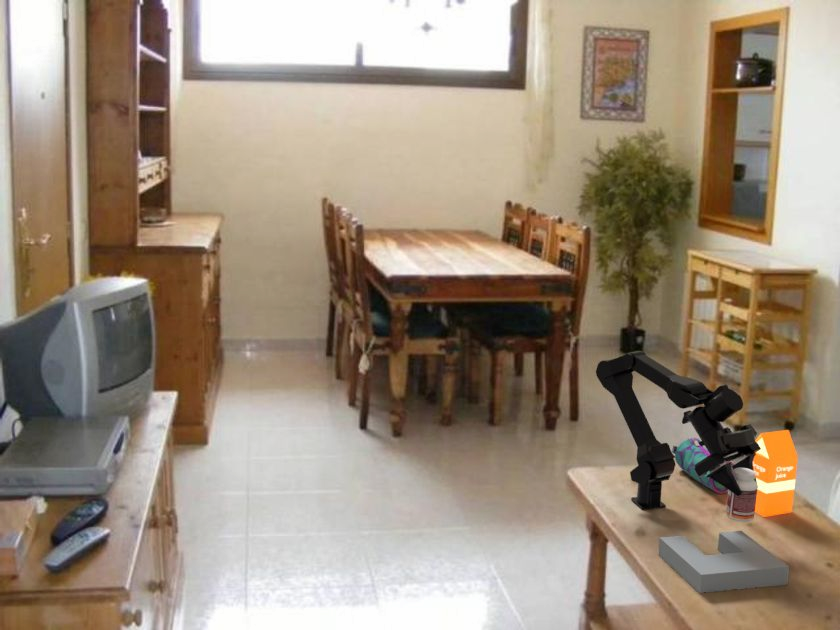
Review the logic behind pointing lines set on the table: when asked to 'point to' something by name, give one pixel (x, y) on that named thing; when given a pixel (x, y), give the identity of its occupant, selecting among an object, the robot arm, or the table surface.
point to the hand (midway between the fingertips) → (748, 491)
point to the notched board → (724, 563)
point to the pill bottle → (742, 496)
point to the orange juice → (775, 473)
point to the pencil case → (691, 455)
